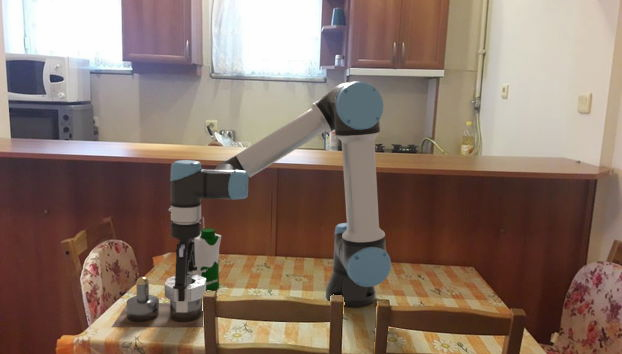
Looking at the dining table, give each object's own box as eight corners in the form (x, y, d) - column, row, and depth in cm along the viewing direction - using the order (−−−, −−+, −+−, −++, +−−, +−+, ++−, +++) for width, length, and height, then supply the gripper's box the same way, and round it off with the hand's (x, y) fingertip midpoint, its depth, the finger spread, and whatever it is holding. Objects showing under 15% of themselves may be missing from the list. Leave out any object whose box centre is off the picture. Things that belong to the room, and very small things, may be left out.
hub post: (131, 308, 130) (130, 271, 129) (161, 308, 131) (161, 271, 129) (122, 322, 123) (121, 283, 121) (155, 322, 123) (154, 283, 122)
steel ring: (170, 286, 131) (170, 274, 131) (207, 286, 132) (207, 274, 132) (162, 301, 122) (162, 288, 121) (202, 302, 122) (202, 288, 122)
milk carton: (200, 300, 141) (201, 234, 138) (181, 291, 146) (181, 228, 143) (223, 292, 148) (224, 228, 144) (205, 283, 153) (205, 222, 150)
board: (127, 308, 134) (127, 302, 134) (215, 308, 136) (215, 303, 136) (111, 332, 120) (111, 326, 120) (209, 332, 122) (209, 326, 122)
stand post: (173, 308, 131) (173, 270, 130) (203, 308, 132) (203, 270, 130) (167, 322, 124) (166, 281, 122) (198, 322, 124) (199, 281, 123)
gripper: (178, 210, 134) (179, 285, 138) (161, 233, 112) (161, 322, 116) (206, 210, 135) (205, 286, 139) (193, 233, 113) (193, 322, 117)
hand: (185, 302), depth 127 cm, fingers closed on steel ring, 10 cm apart
